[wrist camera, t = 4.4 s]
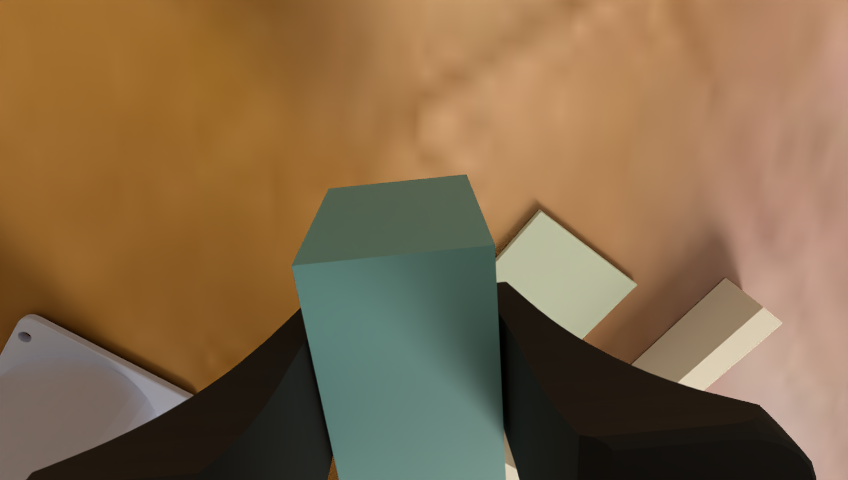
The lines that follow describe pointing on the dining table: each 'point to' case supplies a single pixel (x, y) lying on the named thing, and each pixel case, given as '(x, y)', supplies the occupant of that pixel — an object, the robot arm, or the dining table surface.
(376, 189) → the teal brick
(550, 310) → the pad
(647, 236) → the dining table surface
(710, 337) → the corner walls
